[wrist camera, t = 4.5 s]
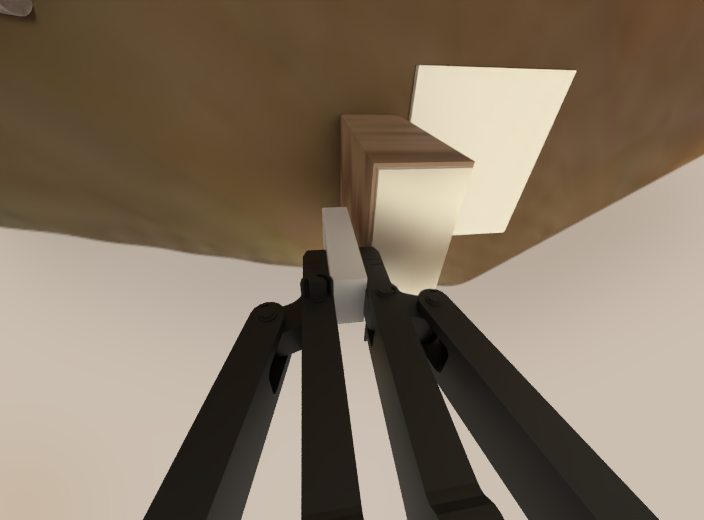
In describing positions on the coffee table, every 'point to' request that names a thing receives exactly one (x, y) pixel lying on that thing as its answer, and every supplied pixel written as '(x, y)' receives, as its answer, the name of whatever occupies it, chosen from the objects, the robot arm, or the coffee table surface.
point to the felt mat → (489, 130)
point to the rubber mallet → (16, 7)
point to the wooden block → (402, 194)
